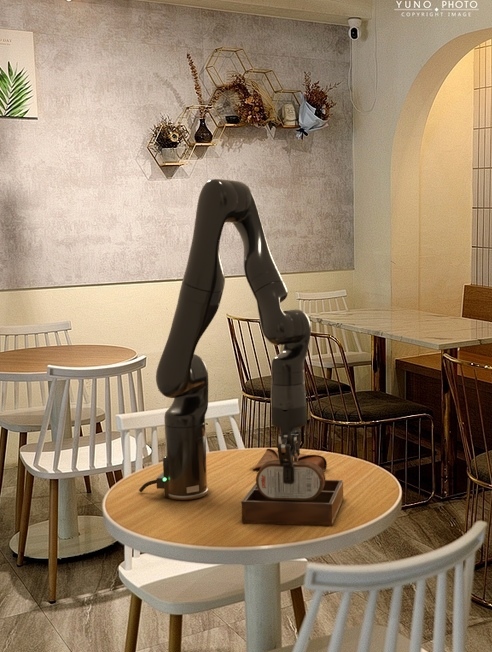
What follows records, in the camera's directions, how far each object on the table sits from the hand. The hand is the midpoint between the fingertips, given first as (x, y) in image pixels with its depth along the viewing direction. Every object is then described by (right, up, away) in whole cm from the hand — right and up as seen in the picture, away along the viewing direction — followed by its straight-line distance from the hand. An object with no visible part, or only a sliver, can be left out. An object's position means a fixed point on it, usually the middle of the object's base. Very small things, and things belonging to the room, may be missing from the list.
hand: (290, 480), depth 190 cm
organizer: (0, -8, +5) cm, 9 cm away
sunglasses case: (-4, -4, +35) cm, 36 cm away
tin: (0, -4, 0) cm, 4 cm away
